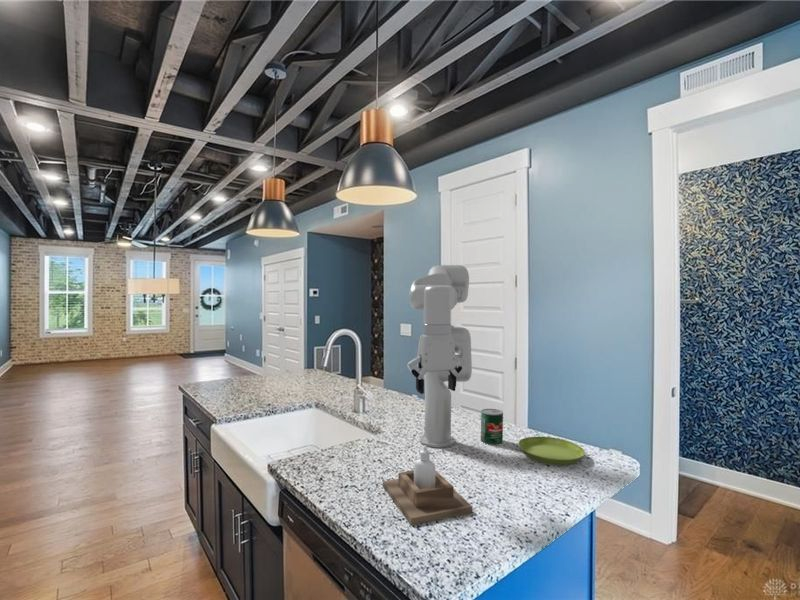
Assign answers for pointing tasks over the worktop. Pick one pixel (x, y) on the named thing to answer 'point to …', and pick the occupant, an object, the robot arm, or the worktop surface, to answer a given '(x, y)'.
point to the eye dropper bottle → (424, 470)
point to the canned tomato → (492, 426)
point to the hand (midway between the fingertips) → (436, 391)
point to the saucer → (551, 450)
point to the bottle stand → (425, 499)
